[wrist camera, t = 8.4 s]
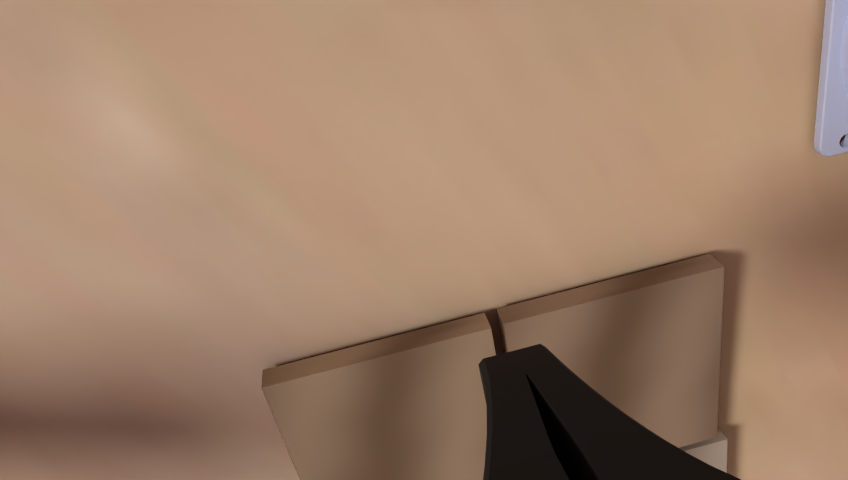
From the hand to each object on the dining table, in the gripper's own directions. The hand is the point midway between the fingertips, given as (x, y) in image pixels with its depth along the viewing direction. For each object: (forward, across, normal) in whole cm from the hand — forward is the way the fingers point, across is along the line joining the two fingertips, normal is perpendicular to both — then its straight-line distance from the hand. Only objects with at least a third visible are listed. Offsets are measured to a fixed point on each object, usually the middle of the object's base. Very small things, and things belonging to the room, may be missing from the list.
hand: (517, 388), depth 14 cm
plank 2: (+10, -6, +9) cm, 15 cm away
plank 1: (+10, +3, +9) cm, 14 cm away
